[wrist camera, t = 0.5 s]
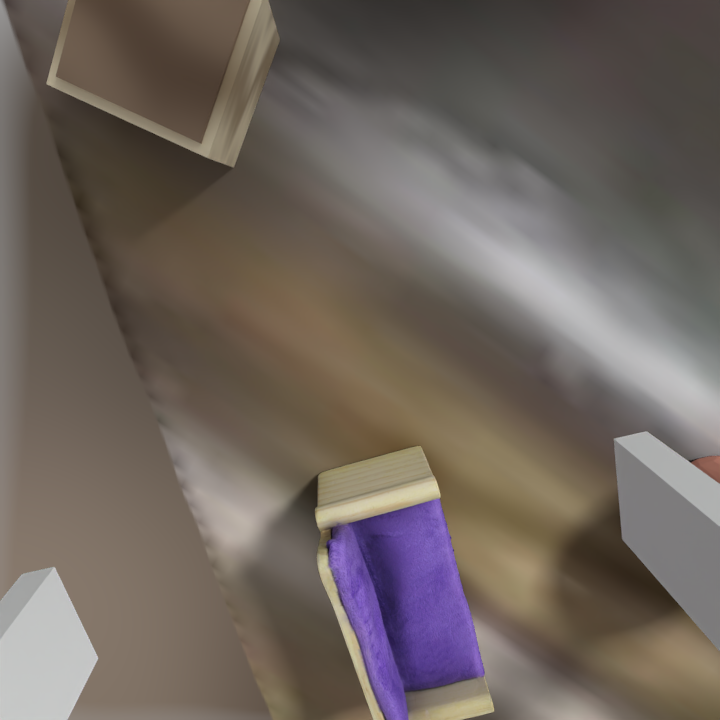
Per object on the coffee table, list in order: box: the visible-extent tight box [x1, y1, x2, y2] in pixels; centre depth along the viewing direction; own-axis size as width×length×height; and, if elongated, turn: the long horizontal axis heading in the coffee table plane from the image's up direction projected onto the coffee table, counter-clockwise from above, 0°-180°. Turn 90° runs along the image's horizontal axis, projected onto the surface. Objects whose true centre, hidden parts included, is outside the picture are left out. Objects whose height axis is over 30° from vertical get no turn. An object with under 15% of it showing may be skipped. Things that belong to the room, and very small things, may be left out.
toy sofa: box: [315, 446, 494, 720], centre depth 38 cm, size 21×9×10 cm, turn 15°
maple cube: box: [46, 0, 280, 168], centre depth 28 cm, size 8×8×8 cm
